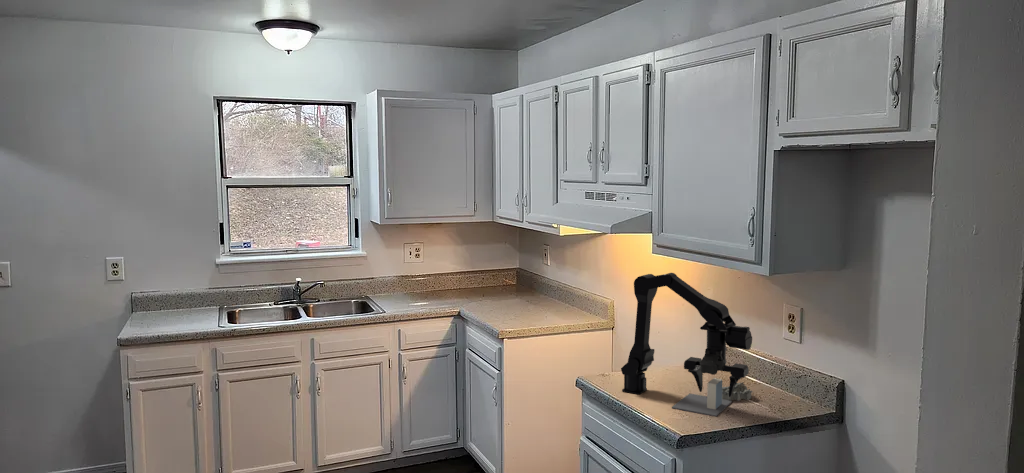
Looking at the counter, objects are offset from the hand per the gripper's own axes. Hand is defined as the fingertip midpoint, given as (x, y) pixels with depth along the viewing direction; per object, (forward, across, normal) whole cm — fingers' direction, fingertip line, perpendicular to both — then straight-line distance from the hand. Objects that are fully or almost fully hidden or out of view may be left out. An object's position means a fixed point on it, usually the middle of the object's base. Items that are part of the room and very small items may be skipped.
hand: (715, 394), depth 221 cm
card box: (+4, 0, 0) cm, 4 cm away
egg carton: (+5, +2, +13) cm, 14 cm away
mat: (+4, -4, 0) cm, 6 cm away
